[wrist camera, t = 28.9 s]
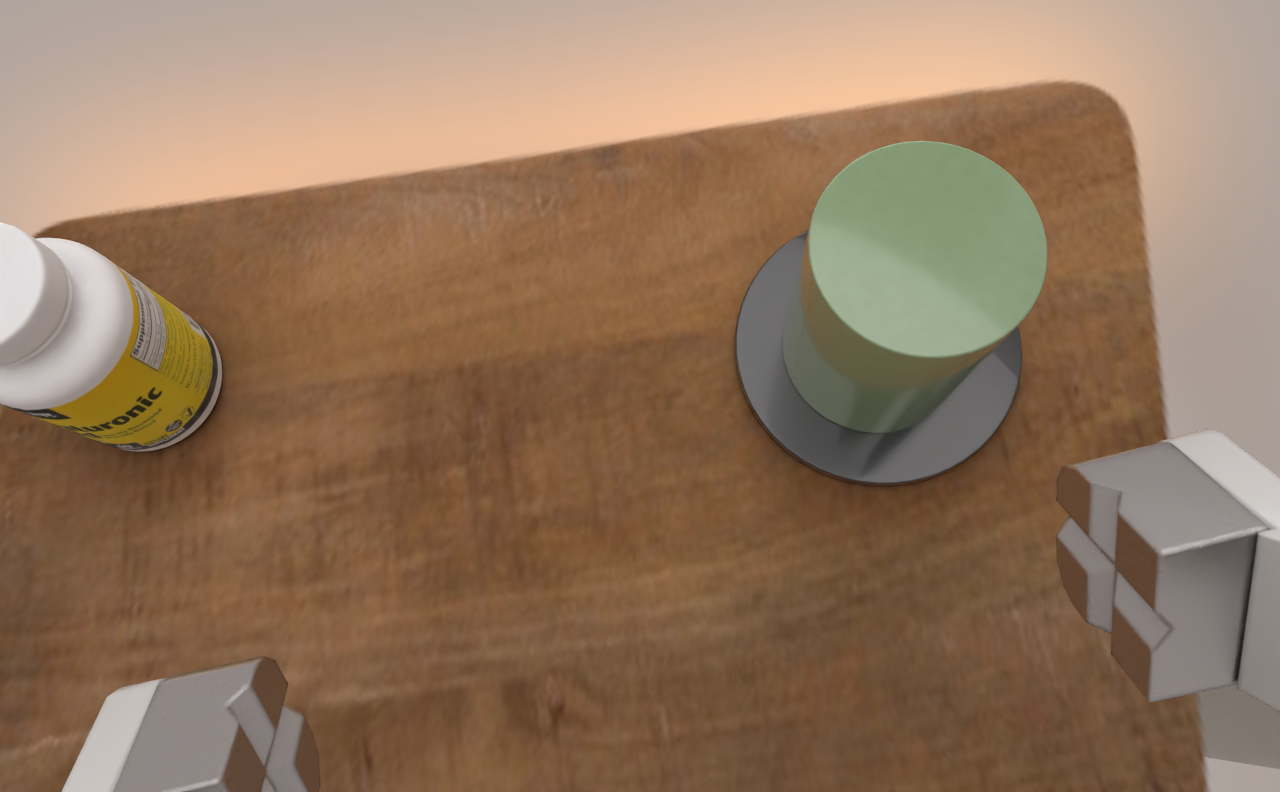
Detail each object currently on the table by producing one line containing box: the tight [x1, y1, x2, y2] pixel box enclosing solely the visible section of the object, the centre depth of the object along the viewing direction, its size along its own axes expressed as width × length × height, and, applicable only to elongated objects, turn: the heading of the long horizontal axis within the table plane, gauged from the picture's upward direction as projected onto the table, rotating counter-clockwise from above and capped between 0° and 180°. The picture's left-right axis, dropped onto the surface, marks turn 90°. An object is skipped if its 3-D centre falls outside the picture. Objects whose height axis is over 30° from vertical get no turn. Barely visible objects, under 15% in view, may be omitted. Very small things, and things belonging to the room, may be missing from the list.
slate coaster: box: [735, 230, 1022, 486], centre depth 35 cm, size 10×10×1 cm
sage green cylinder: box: [782, 141, 1047, 433], centre depth 31 cm, size 6×6×8 cm
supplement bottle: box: [0, 222, 222, 451], centre depth 32 cm, size 5×5×10 cm
